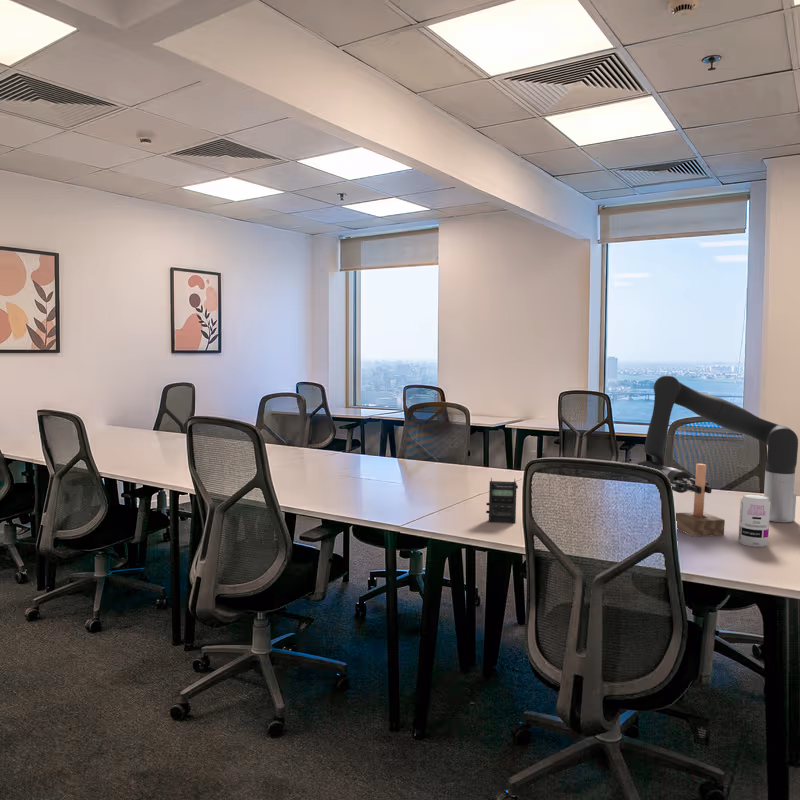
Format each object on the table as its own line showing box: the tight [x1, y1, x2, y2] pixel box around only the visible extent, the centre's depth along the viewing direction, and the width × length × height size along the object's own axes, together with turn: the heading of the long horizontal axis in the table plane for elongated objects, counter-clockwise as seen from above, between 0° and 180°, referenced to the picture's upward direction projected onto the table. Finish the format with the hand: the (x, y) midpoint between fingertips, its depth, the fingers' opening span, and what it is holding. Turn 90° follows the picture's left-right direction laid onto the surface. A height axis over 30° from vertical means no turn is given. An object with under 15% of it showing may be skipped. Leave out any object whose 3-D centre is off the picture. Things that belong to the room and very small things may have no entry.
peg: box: [692, 463, 707, 518], centre depth 230 cm, size 3×3×18 cm
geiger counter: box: [485, 477, 519, 524], centre depth 239 cm, size 10×4×15 cm, turn 82°
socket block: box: [675, 511, 726, 537], centre depth 231 cm, size 11×11×5 cm
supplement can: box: [738, 493, 770, 548], centre depth 216 cm, size 8×8×15 cm
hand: (705, 490), depth 227 cm, fingers closed on peg, 3 cm apart
